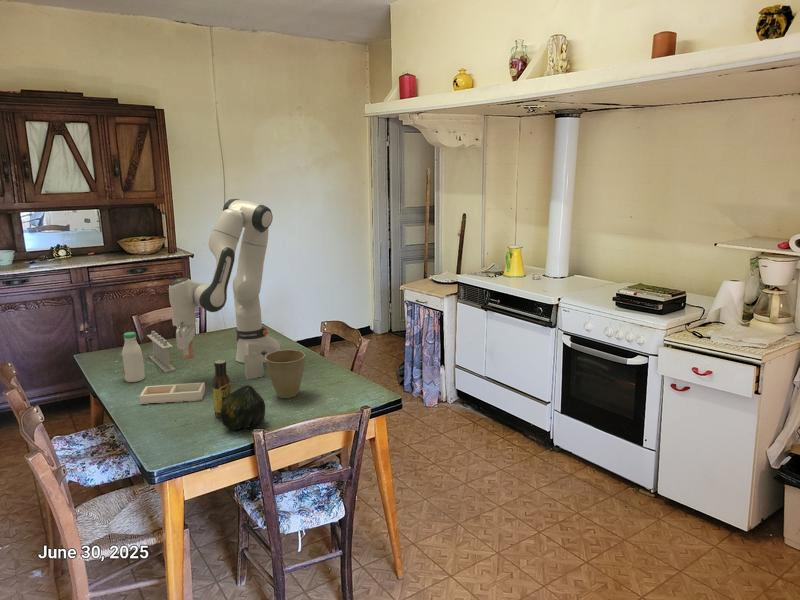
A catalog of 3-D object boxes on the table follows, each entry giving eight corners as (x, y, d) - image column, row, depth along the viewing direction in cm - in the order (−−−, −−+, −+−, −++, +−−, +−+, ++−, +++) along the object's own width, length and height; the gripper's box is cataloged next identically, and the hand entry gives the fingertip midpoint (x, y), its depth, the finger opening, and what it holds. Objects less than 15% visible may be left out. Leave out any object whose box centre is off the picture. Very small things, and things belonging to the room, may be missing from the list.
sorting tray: (205, 390, 239) (204, 382, 238) (201, 400, 230) (200, 391, 229) (146, 394, 236) (145, 386, 235) (140, 405, 226) (139, 396, 225)
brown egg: (194, 355, 247) (193, 341, 245) (193, 358, 243) (191, 344, 242) (184, 356, 246) (182, 342, 245) (182, 359, 242) (180, 345, 241)
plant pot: (262, 392, 236) (259, 353, 232) (298, 385, 243) (296, 347, 240) (275, 406, 224) (272, 364, 220) (313, 397, 231) (310, 357, 227)
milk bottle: (149, 377, 255) (143, 331, 250) (134, 383, 248) (128, 336, 243) (135, 374, 258) (130, 329, 253) (120, 381, 251) (114, 334, 246)
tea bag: (263, 376, 254) (262, 353, 251) (247, 379, 250) (246, 356, 248) (260, 374, 257) (259, 351, 254) (245, 377, 253) (243, 354, 251)
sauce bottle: (225, 419, 213) (220, 365, 208) (211, 417, 215) (205, 363, 210) (236, 412, 218) (232, 359, 214) (222, 410, 221) (217, 357, 216)
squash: (206, 412, 206) (225, 385, 199) (239, 398, 218) (258, 373, 211) (229, 445, 202) (249, 419, 195) (261, 429, 215) (281, 405, 207)
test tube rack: (175, 370, 263) (172, 341, 260) (165, 372, 260) (162, 343, 257) (159, 356, 282) (155, 328, 279) (149, 358, 280) (145, 330, 277)
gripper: (187, 325, 231) (191, 360, 235) (196, 312, 251) (200, 344, 254) (170, 327, 230) (174, 361, 234) (180, 313, 250) (185, 345, 253)
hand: (188, 352), depth 244 cm, fingers closed on brown egg, 4 cm apart
